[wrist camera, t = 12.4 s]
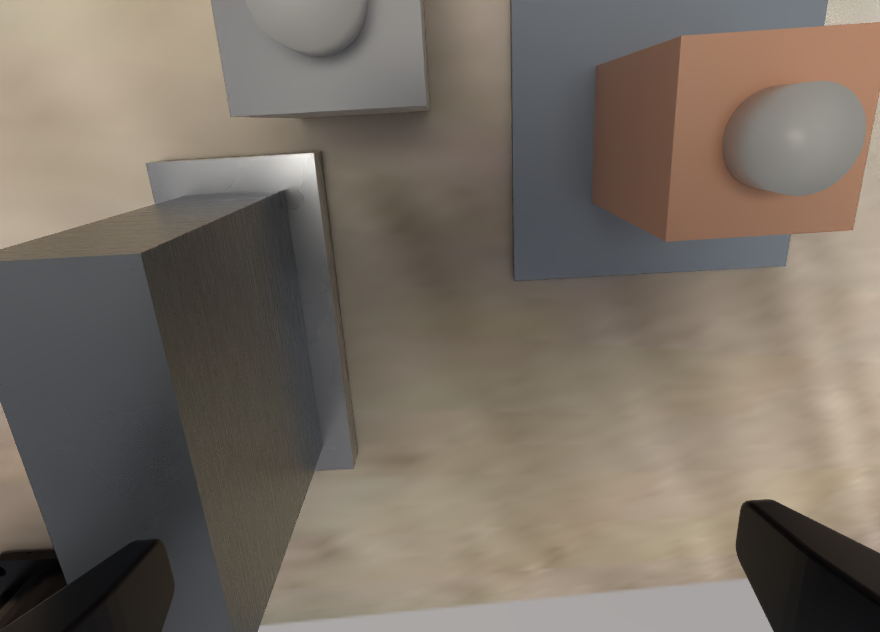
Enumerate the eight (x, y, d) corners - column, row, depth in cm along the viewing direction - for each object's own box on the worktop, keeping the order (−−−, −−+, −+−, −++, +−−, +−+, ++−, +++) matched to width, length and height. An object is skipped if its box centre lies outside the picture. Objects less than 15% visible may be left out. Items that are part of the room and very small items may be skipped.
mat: (513, 279, 18) (514, 281, 18) (510, -27, 16) (511, -29, 15) (782, 264, 18) (785, 266, 18) (830, -47, 15) (835, -50, 15)
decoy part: (300, 118, 17) (207, 116, 10) (280, -32, 15) (157, -152, 9) (429, 110, 17) (424, 103, 10) (421, -41, 15) (408, -168, 9)
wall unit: (226, 459, 21) (68, 714, 12) (161, 160, 17) (-139, 203, 8) (357, 453, 21) (297, 703, 12) (319, 151, 17) (191, 183, 8)
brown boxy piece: (591, 202, 17) (689, 254, 11) (595, 65, 16) (711, 24, 9) (717, 194, 17) (896, 241, 11) (733, 56, 16) (948, 8, 9)
